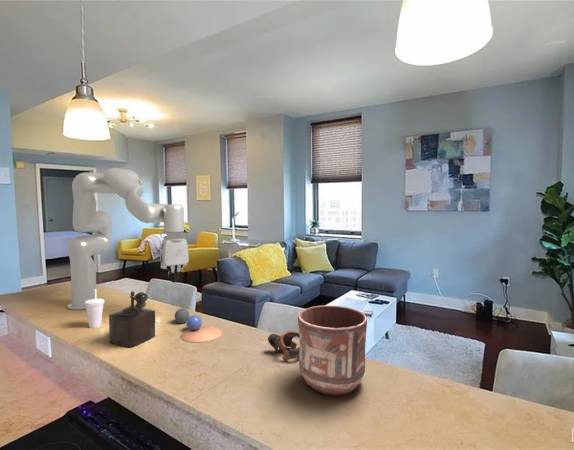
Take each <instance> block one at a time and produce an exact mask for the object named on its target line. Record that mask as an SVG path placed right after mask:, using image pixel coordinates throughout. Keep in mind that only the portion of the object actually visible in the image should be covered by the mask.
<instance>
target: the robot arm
mask: <svg viewBox="0 0 574 450" xmlns="http://www.w3.org/2000/svg"><path fill="white" fill-rule="evenodd" d="M71 183H72V185H71V191H72V197H73V208H72V209H73V211H72V228H73V229H74V231H75V232H78V233H93V234H81V235H76V236H73V237H71V238H70V239H69V240H68V242H67V244H66V245H67V246H66V248H67V249H66V250H67V252H68V257H69V263H70V265H69V266H70V285H71V287H70V289H71V290H70V292H71V302H69V303H68V304H67V309H69V310H73V311H74V310H80V311H81V310H87V309H86V305H85V301H87V300H90V299H95V289H96V290H97V266H96V263H95V261H94V259H93V258H92V256H97V255H103V254H106V253H107V252H108V251H109V249H110V247H111V242H112V241H111V239H112V225H113V224H112V219H111V216H110V215H109V214H108V212H106V211H103V210H97V200H96V198H95V196H94V194H93V193H96V194H118V195H119V196H120V197H121V198H123V199H124V202H125V203H124V204H125V206H126V209H127V211H128V213H130V214H131V215H132V216H133V217H134V218H135V219H137V220H138V221H140V222H142V223H145V224H153V223H159V224H160V223H163V231H162V233H160V238H163V239H162V240H161V245H160V251H159V252H160V253H159V255H160V256H159V262H160V269H163V270H167V271H168V272H169V280H170V282H171V283H179V279H180V272H181V270H182V269H183V268H184V267H187V266H188V263H189V261H190V256H189V254H190V253H189V247H188V242H187V239H186V238H185V209H184V206H183V205H182V204H166V203H147V202H146V201H144V199H143V198H141V197H142V195H143V193H144V188H143V186H142V185H141V184H140V177H139V175H138V173H137V172H135V171H134V170H132V169H127V168H120V167H119V168H118V167H111V168H108V169H106V170H105V171H104V173H100V172H80V173H78V174H77V175H75V177H74V178H73V180H72V182H71ZM96 296H98V295H97V294H96Z"/></svg>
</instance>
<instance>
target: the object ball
mask: <svg viewBox="0 0 574 450" xmlns="http://www.w3.org/2000/svg"><path fill="white" fill-rule="evenodd" d="M185 324H186V328H187V330H188V329H190V330H192V331H195V330H198V329H199V328H200V327H202V325H203V320H202V317H201V316H199V315H197V314H192V315H189V318H188V319H187V321H186V322H185Z"/></svg>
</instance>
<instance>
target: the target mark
mask: <svg viewBox="0 0 574 450" xmlns="http://www.w3.org/2000/svg"><path fill="white" fill-rule="evenodd" d="M222 334H223V331H222V330H221V329H220V328H217V327H215V326H201V327H200V328H199V329H198V330H195V331H192V330H190V329H188V328H187V329H185V330H184V331H183V332H182V333H181V335H180V338H181V339H182V341H184V342H187V343H194V342H200V343H206V342H212V341H214V340H216V339H218V338H220V337H221V335H222Z"/></svg>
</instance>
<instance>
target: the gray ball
mask: <svg viewBox="0 0 574 450" xmlns="http://www.w3.org/2000/svg"><path fill="white" fill-rule="evenodd" d="M189 317H190V312H189V310H188V309H186V308H182V307H181V308H178V309H177V310H176V311H175V313H174V320H175V321H176V322H177V323H179V324H183V323H186V322H187V319H188V318H189Z"/></svg>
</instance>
